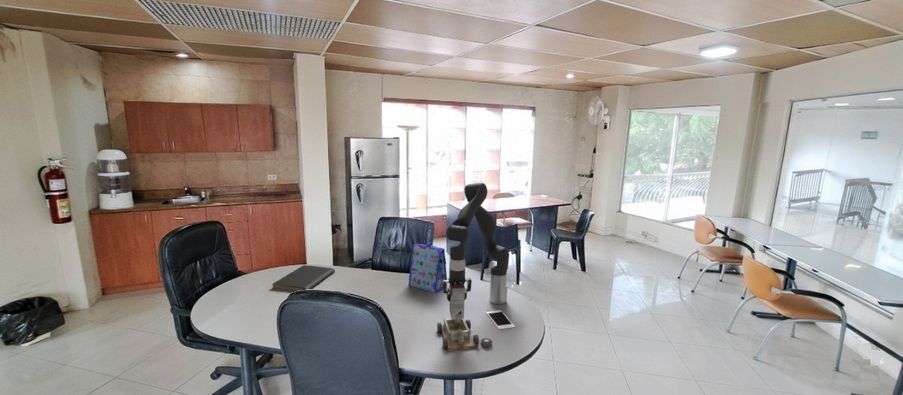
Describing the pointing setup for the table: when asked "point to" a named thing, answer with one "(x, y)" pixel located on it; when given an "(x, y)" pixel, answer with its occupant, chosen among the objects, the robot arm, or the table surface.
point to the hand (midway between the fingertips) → (456, 300)
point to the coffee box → (457, 301)
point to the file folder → (303, 278)
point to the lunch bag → (427, 267)
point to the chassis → (457, 334)
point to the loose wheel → (486, 342)
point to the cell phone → (500, 320)
